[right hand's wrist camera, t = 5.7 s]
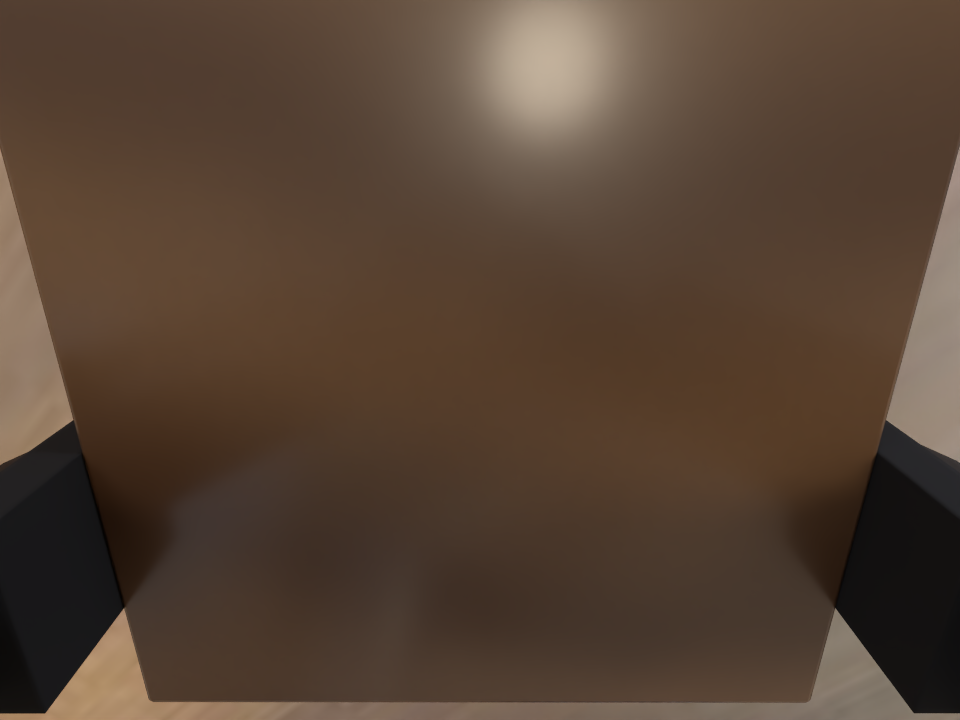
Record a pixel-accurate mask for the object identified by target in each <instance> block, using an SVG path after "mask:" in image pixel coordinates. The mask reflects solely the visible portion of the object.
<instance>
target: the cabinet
mask: <svg viewBox="0 0 960 720" xmlns="http://www.w3.org/2000/svg"><path fill="white" fill-rule="evenodd" d="M959 146H960V0H0V148H1V152H2V156H3V160H4V163H5V167H6V171H7V174H8V178H9V182H10V186H11V189H12V193H13V197H14V200H15V204H16V208H17V212H18V215H19V219H20V223H21V226H22V230H23V234H24V238H25V241H26V245H27V249H28V252H29V256H30V260H31V264H32V267H33V271H34V275H35V278H36V282H37V286H38V290H39V293H40V297H41V301H42V304H43V308H44V312H45V315H46V319H47V323H48V327H49V330H50V334H51V338H52V341H53V345H54V349H55V353H56V356H57V360H58V364H59V367H60V371H61V375H62V379H63V382H64V386H65V390H66V393H67V397H68V401H69V405H70V408H71V412H72V416H73V419H74V423H75V427H76V431H77V434H78V438H79V442H80V445H81V449H82V453H83V457H84V460H85V464H86V468H87V471H88V475H89V479H90V482H91V486H92V490H93V494H94V497H95V501H96V505H97V508H98V512H99V516H100V520H101V523H102V527H103V531H104V534H105V538H106V542H107V546H108V549H109V553H110V557H111V560H112V564H113V568H114V572H115V575H116V579H117V583H118V586H119V590H120V594H121V598H122V601H123V605H124V609H125V612H126V616H127V620H128V624H129V627H130V631H131V635H132V638H133V642H134V646H135V650H136V653H137V657H138V661H139V664H140V668H141V672H142V675H143V679H144V683H145V687H146V690H147V694H148V698H149V700H150V701H153V702H808V701H809V700H810V699H811V695H812V692H813V688H814V684H815V681H816V677H817V673H818V669H819V666H820V662H821V658H822V655H823V651H824V647H825V644H826V640H827V636H828V632H829V629H830V625H831V621H832V618H833V614H834V610H835V606H836V603H837V599H838V595H839V592H840V588H841V584H842V580H843V577H844V573H845V569H846V566H847V562H848V558H849V554H850V551H851V547H852V543H853V540H854V536H855V532H856V528H857V525H858V521H859V517H860V514H861V510H862V506H863V503H864V499H865V495H866V491H867V488H868V484H869V480H870V477H871V473H872V469H873V465H874V462H875V458H876V454H877V451H878V447H879V443H880V439H881V436H882V432H883V428H884V425H885V421H886V417H887V413H888V410H889V406H890V402H891V399H892V395H893V391H894V387H895V384H896V380H897V376H898V373H899V369H900V365H901V362H902V358H903V354H904V350H905V347H906V343H907V339H908V336H909V332H910V328H911V324H912V321H913V317H914V313H915V310H916V306H917V302H918V298H919V295H920V291H921V287H922V284H923V280H924V276H925V272H926V269H927V265H928V261H929V258H930V254H931V250H932V246H933V243H934V239H935V235H936V232H937V228H938V224H939V221H940V217H941V213H942V209H943V206H944V202H945V198H946V195H947V191H948V187H949V183H950V180H951V176H952V172H953V169H954V165H955V161H956V157H957V154H958V150H959Z"/></svg>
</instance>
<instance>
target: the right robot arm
mask: <svg viewBox="0 0 960 720" xmlns="http://www.w3.org/2000/svg"><path fill="white" fill-rule="evenodd" d="M835 608H836V609H837V611H838V612H839V613H840V615H841V616H842V617H843V619H844V620H845V621H846V623H847V624H848V625H849V627H850V628H851V629H852V631H853V632H854V633H855V635H856V636H857V637H858V639H859V640H860V641H861V643H862V644H863V646H864V647H865V648H866V650H867V651H868V652H869V654H870V655H871V656H872V658H873V659H874V660H875V662H876V663H877V664H878V666H879V667H880V668H881V670H882V671H883V672H884V674H885V675H886V676H887V678H888V679H889V680H890V682H891V683H892V684H893V686H894V687H895V688H896V690H897V691H898V692H899V694H900V695H901V696H902V698H903V699H904V700H905V702H906V703H907V704H908V706H909V707H910V708H911V710H912V711H913V712H914V713H960V463H959V462H957V461H956V460H953V459H951V458H949V457H947V456H945V455H942V454H940V453H938V452H936V451H933V450H931V449H929V448H927V447H924V446H922V445H920V444H919V443H917V442H916V441H914V440H913V439H912V438H910V437H909V436H907V435H906V434H905V433H903V432H902V431H900V430H899V429H898V428H896V427H895V426H893V425H892V424H891V423H889V422H888V421H885V425H884V428H883V432H882V436H881V439H880V443H879V447H878V451H877V454H876V458H875V462H874V465H873V469H872V473H871V477H870V480H869V484H868V488H867V491H866V495H865V499H864V503H863V506H862V510H861V514H860V517H859V521H858V525H857V528H856V532H855V536H854V540H853V543H852V547H851V551H850V554H849V558H848V562H847V566H846V569H845V573H844V577H843V580H842V584H841V588H840V592H839V595H838V599H837V603H836V606H835ZM123 609H124V605H123V601H122V598H121V594H120V590H119V586H118V583H117V579H116V575H115V572H114V568H113V564H112V560H111V557H110V553H109V549H108V546H107V542H106V538H105V534H104V531H103V527H102V523H101V520H100V516H99V512H98V508H97V505H96V501H95V497H94V494H93V490H92V486H91V482H90V479H89V475H88V471H87V468H86V464H85V460H84V457H83V453H82V449H81V445H80V442H79V438H78V434H77V431H76V427H75V423H74V420H73V421H72V422H70V423H69V424H67V425H66V426H65V427H63V428H62V429H60V430H59V431H58V432H56V433H55V434H53V435H52V436H50V437H49V438H48V439H46V440H45V441H43V442H42V443H41V444H39V445H38V446H36V447H35V448H34V449H32V450H31V451H29V452H27V453H25V454H23V455H21V456H18V457H16V458H14V459H12V460H10V461H7V462H5V463H3V464H2V465H0V713H46V712H47V710H48V709H49V708H50V706H51V705H52V704H53V702H54V701H55V699H56V698H57V697H58V695H59V694H60V693H61V691H62V690H63V689H64V687H65V686H66V685H67V683H68V682H69V681H70V679H71V678H72V677H73V675H74V674H75V673H76V671H77V670H78V669H79V667H80V666H81V665H82V663H83V662H84V661H85V659H86V658H87V657H88V655H89V654H90V653H91V651H92V650H93V649H94V647H95V646H96V645H97V643H98V642H99V641H100V639H101V638H102V637H103V635H104V634H105V633H106V631H107V630H108V629H109V627H110V626H111V625H112V623H113V622H114V621H115V619H116V618H117V617H118V615H119V614H120V613H121V611H122V610H123Z"/></svg>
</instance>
